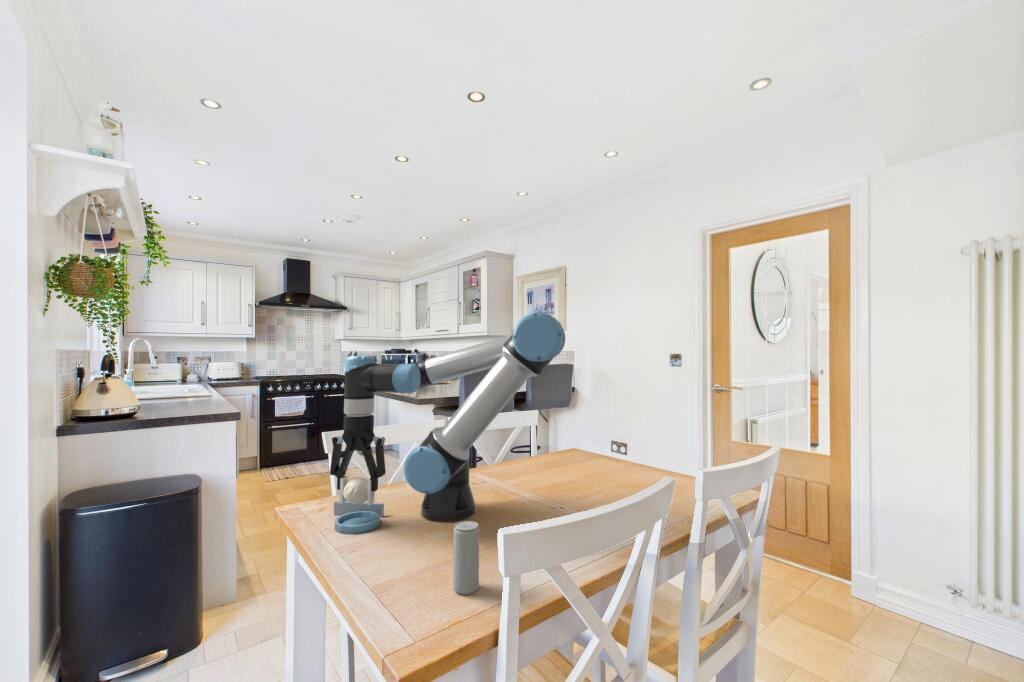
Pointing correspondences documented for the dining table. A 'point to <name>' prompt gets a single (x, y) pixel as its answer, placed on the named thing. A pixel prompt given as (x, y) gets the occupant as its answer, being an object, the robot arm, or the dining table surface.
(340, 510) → the panel
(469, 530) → the beverage can
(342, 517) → the saucer
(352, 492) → the cream creased ball
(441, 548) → the dining table surface
